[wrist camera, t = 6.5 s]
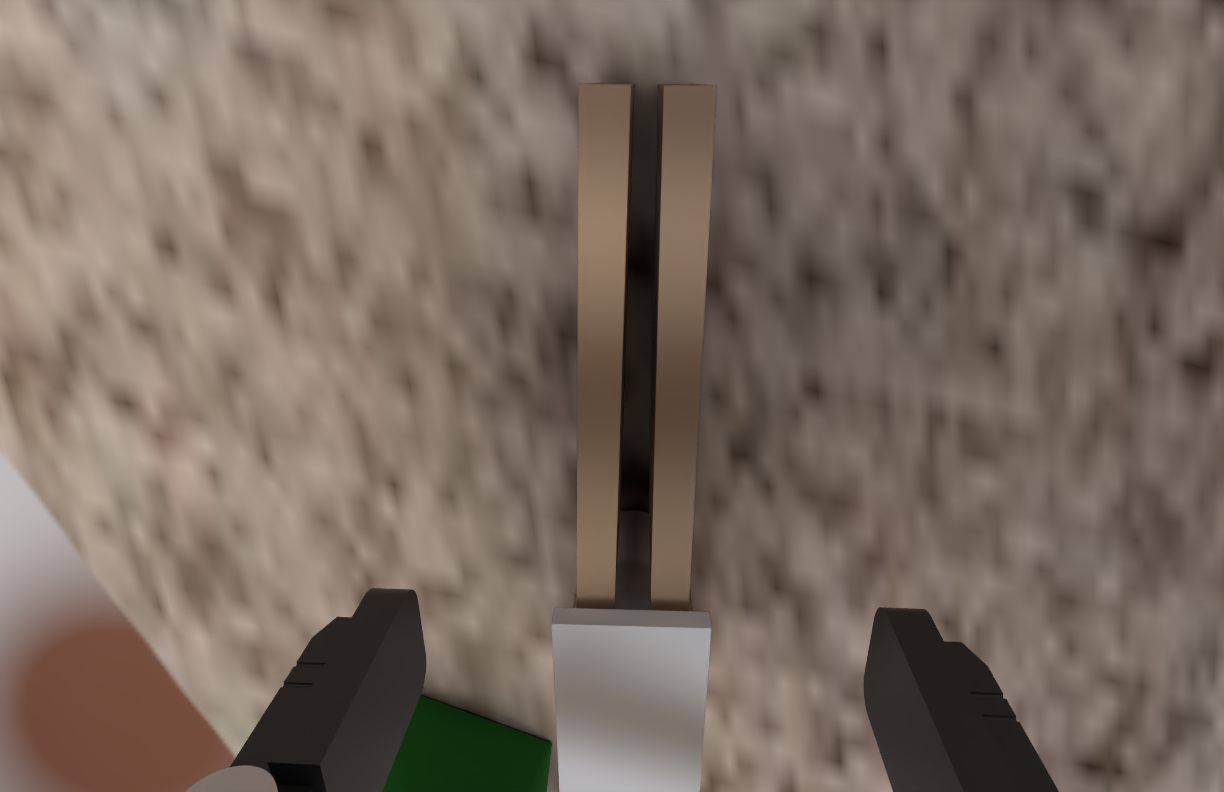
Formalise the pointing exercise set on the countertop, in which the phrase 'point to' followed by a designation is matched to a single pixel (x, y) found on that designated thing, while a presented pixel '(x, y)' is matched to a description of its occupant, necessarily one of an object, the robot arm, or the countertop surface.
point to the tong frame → (653, 519)
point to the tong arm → (605, 356)
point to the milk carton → (466, 754)
